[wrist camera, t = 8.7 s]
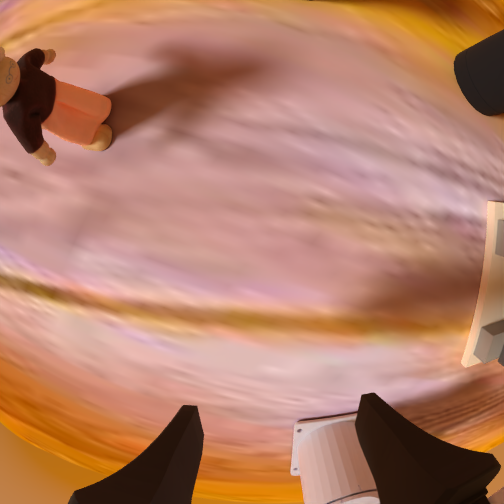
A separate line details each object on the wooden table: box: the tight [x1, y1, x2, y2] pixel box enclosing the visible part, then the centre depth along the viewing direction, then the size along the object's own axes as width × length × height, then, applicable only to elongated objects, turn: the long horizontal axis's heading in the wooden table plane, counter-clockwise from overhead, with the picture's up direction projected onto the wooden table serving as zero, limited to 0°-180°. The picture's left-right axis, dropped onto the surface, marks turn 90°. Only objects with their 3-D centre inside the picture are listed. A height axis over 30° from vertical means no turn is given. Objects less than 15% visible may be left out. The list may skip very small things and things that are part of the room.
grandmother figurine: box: [0, 47, 112, 166], centre depth 11 cm, size 8×4×13 cm, turn 20°
